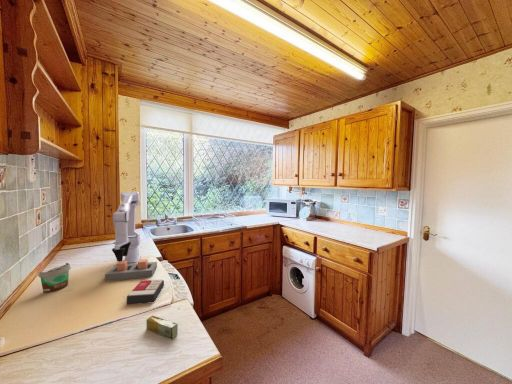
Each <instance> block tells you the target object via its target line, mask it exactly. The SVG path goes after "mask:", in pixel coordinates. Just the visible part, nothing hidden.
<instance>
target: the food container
mask: <svg viewBox="0 0 512 384" xmlns="http://www.w3.org/2000/svg"><path fill="white" fill-rule="evenodd" d="M71 269H72V267H71V265H70V263H68V262H65V264H64V265H61V266H58V267H54V268H52V269H49V270H48V271H43V272H42V271H40V272H39V274H38V278H40V282H41V289H42V292H43V293H45V294H47V293H48V294H49V293H53V292H57V291H60V290H63V289H65V288H67V287H68V286H69V276H70V273H69V272H70V270H71Z"/></svg>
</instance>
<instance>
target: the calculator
mask: <svg viewBox="0 0 512 384" xmlns="http://www.w3.org/2000/svg"><path fill="white" fill-rule="evenodd" d="M163 286H164V287H165V280H164V279H153V280H152V279H149V280H140V282H138V284H137V285H136V286H135V287H134V288H133V289H132V290H131V291H130V292H129V293H128V295H127V296H126V305H139V304H138V303H142V304H149V303H148V302H154V301H155V302H156V300H157V299H156V298H158V296H159V295H160V294H161V292H162V290H163V288H164V287H163ZM161 289H162V290H161ZM160 291H161V292H160ZM155 302H154V303H155Z"/></svg>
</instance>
